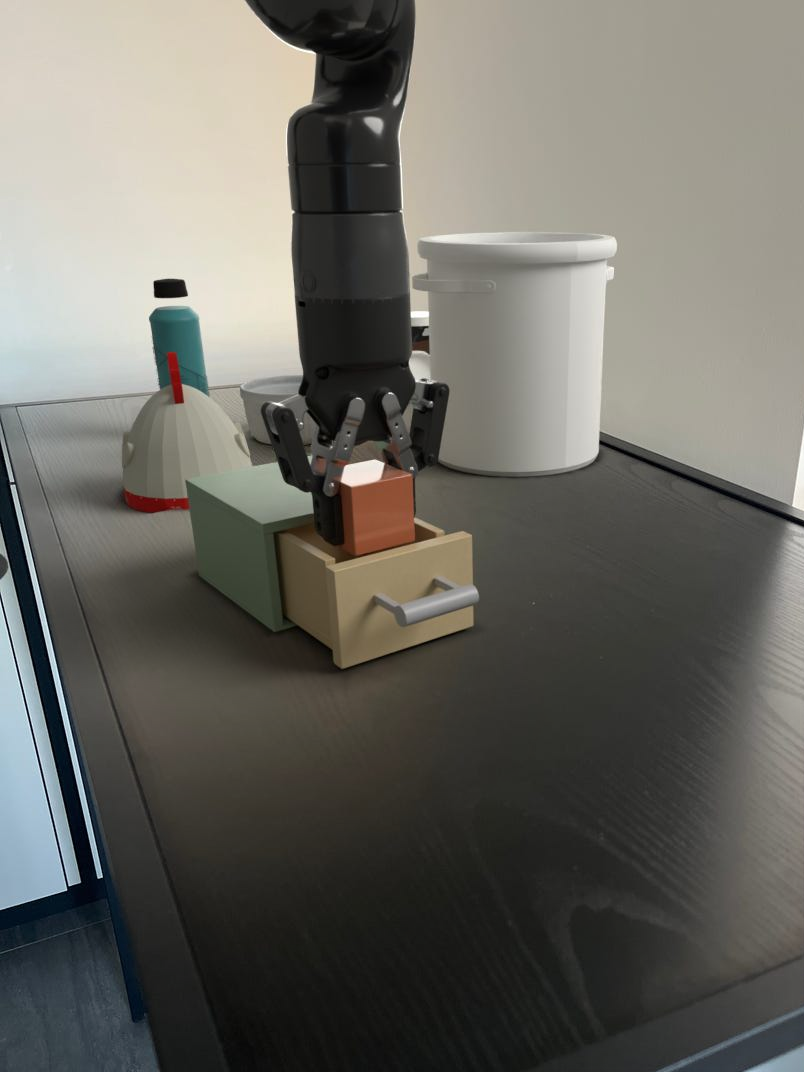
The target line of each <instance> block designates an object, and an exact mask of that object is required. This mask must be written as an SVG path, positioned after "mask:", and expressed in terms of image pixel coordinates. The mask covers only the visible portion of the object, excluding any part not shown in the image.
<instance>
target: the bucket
mask: <svg viewBox="0 0 804 1072" xmlns="http://www.w3.org/2000/svg"><path fill="white" fill-rule="evenodd" d="M416 247H417V254H418V255H419V257H420V259H423V260H426V272H425V273H418V274H415V275H413V276H412V277H411V283H412V285H411V286H412V289H413V290H416V291H420V292H421V291H422V292H427V305H428V306H427V309H428V310H427V312H429V345H430V378H431V380H434V381H438V382H441V383H445V384H447V385H448V387H449V390H450V392H449V398H448V404H447V410H446V416H445V422H444V428H443V434H442V440H441V445H440V451H439V457H438V461H437V463H439V464H441V465H443V466H445V467H446V468H449V469H452V470H455V471H459V472H463V473H468V474H474V475H480V476H487V477H488V476H489V477H501V478H502V477H505V478H507V477H508V478H525V477H540V476H541V477H543V476H551V475H558V474H563V473H569V472H572V471H577V470H579V469H581V468H584V467H587V466H588V465H590V464H592V463H593V462H594V461H595V460H596V459H597V457H598V454H599V451H600V427H601V426H600V425H601V408H602V407H601V405H602V383H603V362H604V361H603V359H604V335H605V333H604V332H605V315H606V314H605V313H606V292H607V291H606V290H607V283H608V281H612V280H613V279H614V276H615V267H614V266H610V265H608V259H610V258H612V257H615V255H616V253H617V251H618V241H617V239H616V237H615V236H612V235H608V234H601V233H599V234H598V233H585V232H584V233H583V232H559V231H558V232H557V231H556V232H555V231H498V232H494V231H493V232H469V233H451V234H439V235H432V236H431V235H429V236H424V237H421V238H419V240H418V242H417V246H416Z"/></svg>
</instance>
